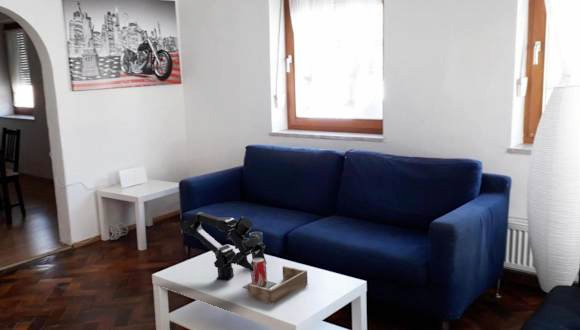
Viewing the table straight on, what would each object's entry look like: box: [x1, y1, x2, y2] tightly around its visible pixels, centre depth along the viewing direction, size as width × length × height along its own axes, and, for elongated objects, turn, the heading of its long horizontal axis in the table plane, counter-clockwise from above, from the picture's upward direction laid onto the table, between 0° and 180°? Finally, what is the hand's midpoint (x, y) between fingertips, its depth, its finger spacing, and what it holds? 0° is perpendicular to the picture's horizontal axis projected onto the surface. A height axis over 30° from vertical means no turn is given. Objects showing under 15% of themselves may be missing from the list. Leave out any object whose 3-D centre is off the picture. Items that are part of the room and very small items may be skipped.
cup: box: [248, 231, 263, 260], centre depth 280 cm, size 7×7×15 cm
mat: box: [242, 280, 277, 290], centre depth 250 cm, size 11×11×1 cm
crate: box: [247, 265, 309, 305], centre depth 243 cm, size 13×26×6 cm, turn 144°
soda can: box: [250, 258, 268, 287], centre depth 249 cm, size 7×7×12 cm
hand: (259, 267), depth 248 cm, fingers open, 9 cm apart
